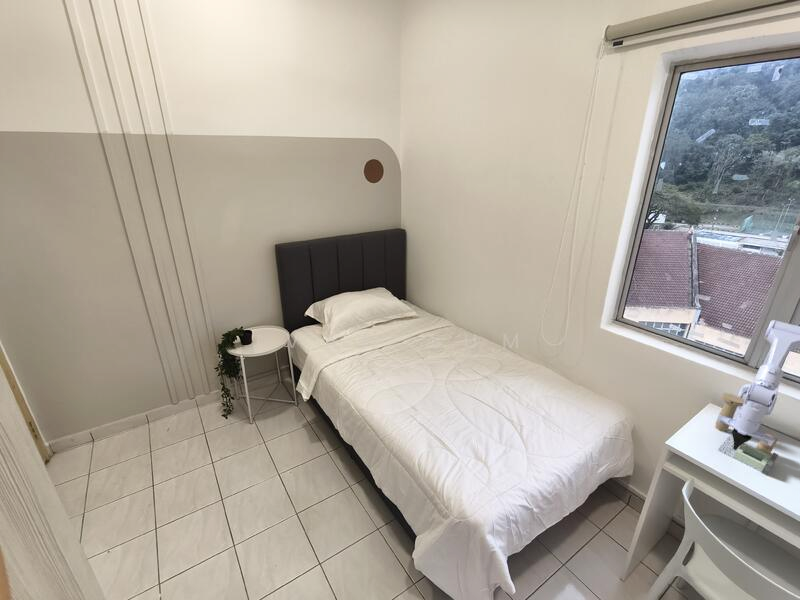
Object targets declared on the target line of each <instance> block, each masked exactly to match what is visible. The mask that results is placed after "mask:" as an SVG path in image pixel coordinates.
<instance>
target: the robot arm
mask: <svg viewBox="0 0 800 600" xmlns="http://www.w3.org/2000/svg"><path fill="white" fill-rule="evenodd" d="M764 340H765V341H767V342H769V344H770V348H769V351H768V353H767V355H766V357H765V359H764V361H763V364H762V365H760V366H759V368H758V370H757V372H756V375H755V378H754V379H753V382H751V383H745V384H743V385H742V386H741V388H740V390H739V392H738V394H737V396H738V397H740V398H742V399H744V400H745V401H744V404H743V406H738V407H737V408H736V411H735V414H734V417H733V419H731V418H728V417H725V416H722V415H719V414H718V415H719V416H717V418H716V421H717V422H722V423H724V424H726V425H728V426H729V428H730V427H731V428H733V429H732V431H731V435H733V436H732V440H733V441H734V442H733V446H732V450H733V451H734V450H738V448H739V447H740V445H742V444H743V443H745V444H746V442H747V443H748V442H749V441H750V440H752V438H754V439H757V440H759V441H760V440H761V441H763V442H765V443H767V445H769V446H772V444H773V442H774V440H775V439H773V438H771V437H769V436H767V435H766V434H767V433H764V432H763V431H761V430H759V428H760V426H761V425H762V423H763V420H764V418H765V417H766V416H770V415H771V413H772V412H773V410H774V408H775V405H776V402H777V399H778V397H777V396H778V392H779V386H780V384H781V381H782V379H783V376H784V374H785V373H784V371H783V369H782V368H781V367H782V365H783V364H784V363H785V360H786V358H788V355H789V353H790V352H791V350H799V349H800V326H799V325H795V324H791V323H786V322H783V321H779V320H776V319H773V320H770V322H769V325H768V327H767V329H766V332H765V334H764Z"/></svg>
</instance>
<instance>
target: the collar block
mask: <svg viewBox="0 0 800 600" xmlns="http://www.w3.org/2000/svg"><path fill="white" fill-rule="evenodd" d="M750 445H751V444H748V443H746V442H745V443H743V444H742V445H741V446H739V447H738V448H737V451H735V454H733V457H734V458H733V459H735V458H736V459H735V460H737V461H738V460H739V462H740V461H741V462H742V463H744V464H745V463H746V464H745V465H747V466H750V467H751V468H754V469H755V468H756V469H755V470H757V471H759V472H761V471H763V470H764V468H765V466H766V464H767V462H768V461H769V459H770V458H771V456H772V455H771V454H770V455H768V454H766V453H764V452H762V451H760V450H758V449H756V447H755V446H752V445H751V446H750ZM745 452H746V453H747V454H745ZM748 454H749V455H748ZM750 455H751V456H753V457H754V458H753V457H751V456H750ZM755 457H756V458H758V459H760V460H758V459H755ZM761 460H762V461H761Z"/></svg>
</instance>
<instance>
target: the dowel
mask: <svg viewBox="0 0 800 600" xmlns="http://www.w3.org/2000/svg"><path fill="white" fill-rule="evenodd" d="M765 434H766V435H767V436H769V437H771V438H773V439H775V440H774V442H773V444H772V446H769V445H767V443H765V442H763V441H761V440H759V441H758V443H757V445H756V446H755V448H756V449H758V450H760V451H762V452H764V453H766V454H768V455H770V456H771V454H772V451H773V450H774V448H775V446H776V444H777V442H778V439H777V437H775V436H774V435H772V434H769V433H765Z"/></svg>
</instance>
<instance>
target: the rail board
mask: <svg viewBox="0 0 800 600" xmlns="http://www.w3.org/2000/svg"><path fill="white" fill-rule="evenodd" d="M732 437H733V435H732V434H729V436H728V437H727V438H726V439H725V441H724V442H723V444H721V445H720V448H718V449H717V451H718V452H722V454H725V455H726V456H728V457H730V458H732V459H734V460H737V462H740V463H742V464H745V465H747V464H746V463H744V462H742V461H740V460H738V459H736V458H734V455H735V453H736V451H737V450H738V449H737V450H734V449H733V452H731V451H732V448H731V445H729V444H733V443H734V440H731V438H732ZM745 444H748V441H747V442H745ZM749 445H750V446H752V447H754V444H749ZM740 446H741V445H740ZM740 446H739V447H740ZM727 451H728V453H726V452H727ZM744 453H745V454H747V455H749V456H751V457H753V458H755V459H757V460H759V461H762V460H760V459H758V458H756V457H754V456H752V455H750V454H748V453H746V452H744ZM770 456H771V457H770V459H769V461H768V462H767V464H766V466H765V467H764V469H763V471H760V473H761V474H763V475H764V476H768V474H769V473H770V471H771V469H772V467H773V465H774V464H775V462H776V460H777V458H778V456H779V454H778V453H776V452H772V453H770ZM748 466H749V468H751V466H750V465H748ZM752 469H754V470H757V469H756V468H754V467H752Z"/></svg>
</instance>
